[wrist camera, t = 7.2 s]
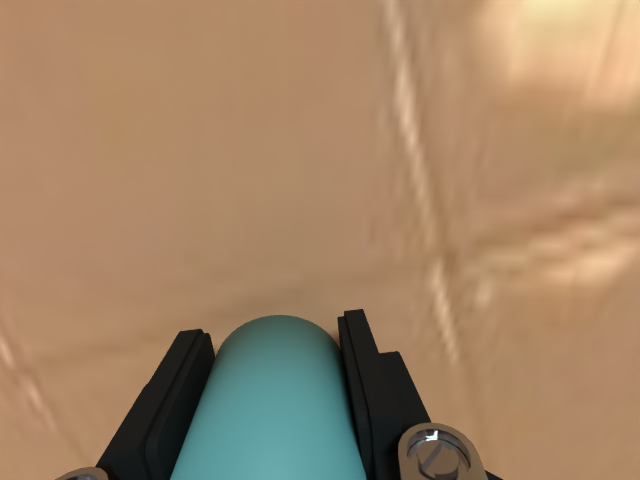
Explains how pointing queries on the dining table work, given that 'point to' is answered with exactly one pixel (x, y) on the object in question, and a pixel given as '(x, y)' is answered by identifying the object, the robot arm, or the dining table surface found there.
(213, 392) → the cube with teal knob
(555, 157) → the dining table surface
